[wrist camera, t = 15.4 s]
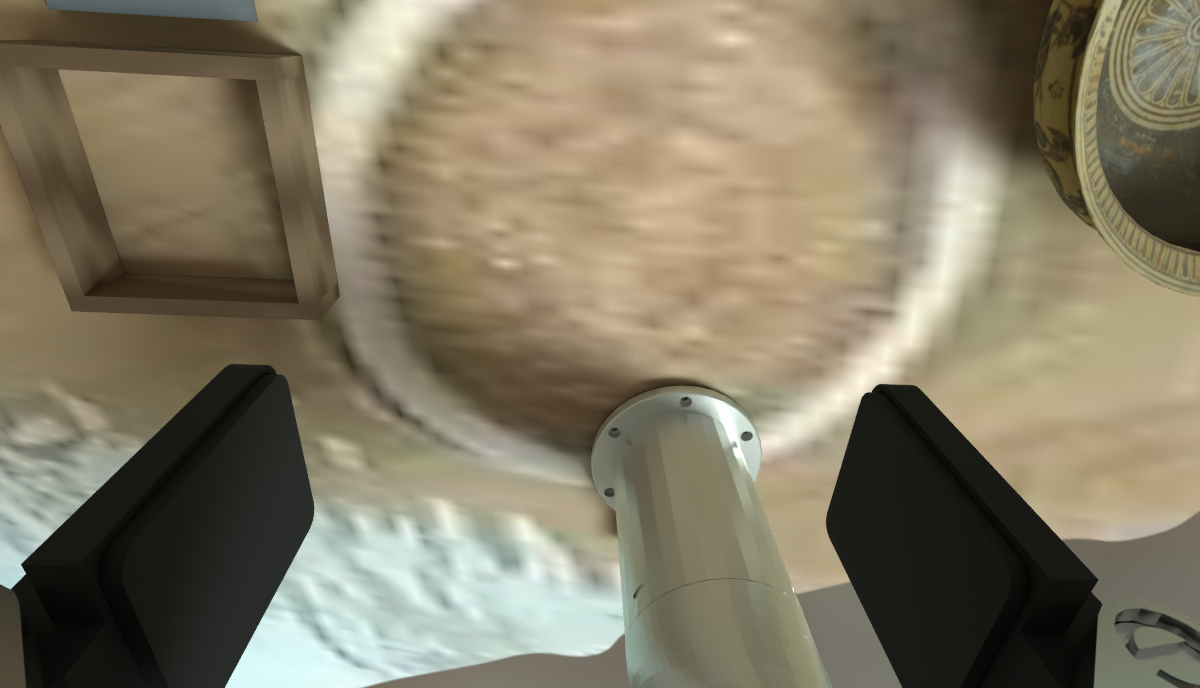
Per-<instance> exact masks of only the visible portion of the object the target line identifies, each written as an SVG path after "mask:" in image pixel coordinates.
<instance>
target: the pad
mask: <svg viewBox="0 0 1200 688" xmlns="http://www.w3.org/2000/svg"><path fill="white" fill-rule="evenodd" d="M46 3H47V6H48V9H51V10H68V11H85V12H102V13H119V14H136V15H153V16H170V17H186V18H203V19H220V20H237V21H257V15H256V10H255V4H254V0H46Z"/></svg>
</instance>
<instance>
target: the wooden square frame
mask: <svg viewBox="0 0 1200 688" xmlns="http://www.w3.org/2000/svg"><path fill="white" fill-rule="evenodd" d="M57 69H65V70H83V71H101V72H120V73H138V74H157V75H175V76H193V77H212V78H230V79H248V80H256V84H257V90H258V95H259V100H260V105H261V110H262V116H263V121H264V126H265V131H266V136H267V142H268V147H269V152H270V157H271V162H272V168H273V173H274V178H275V183H276V188H277V194H278V199H279V204H280V209H281V214H282V220H283V225H284V230H285V235H286V240H287V246H288V251H289V256H290V261H291V266H292V272H293V277H294V280H274V279H248V278H222V277H195V276H169V275H143V274H124V271H123V268H122V265H121V262H120V259H119V255H118V252H117V249H116V246H115V243H114V240H113V237H112V234H111V231H110V228H109V225H108V222H107V219H106V216H105V213H104V210H103V207H102V204H101V201H100V198H99V195H98V192H97V189H96V186H95V183H94V179H93V176H92V173H91V170H90V167H89V164H88V161H87V158H86V155H85V152H84V149H83V146H82V143H81V140H80V137H79V134H78V131H77V128H76V125H75V122H74V119H73V116H72V113H71V110H70V106H69V103H68V100H67V97H66V94H65V91H64V88H63V85H62V82H61V79H60V76H59V73H58V70H57ZM0 125H1V128H2V130H3V133H4V136H5V138H6V141H7V143H8V146H9V149H10V151H11V154H12V156H13V159H14V162H15V164H16V167H17V169H18V172H19V175H20V177H21V180H22V183H23V185H24V188H25V190H26V193H27V196H28V198H29V201H30V203H31V206H32V209H33V211H34V214H35V216H36V219H37V222H38V224H39V227H40V229H41V232H42V235H43V237H44V240H45V243H46V245H47V248H48V250H49V253H50V256H51V258H52V261H53V263H54V266H55V269H56V271H57V274H58V276H59V279H60V282H61V284H62V287H63V289H64V292H65V295H66V297H67V300H68V303H69V305H70V308H71V310H72V311H79V312H108V313H137V314H165V315H194V316H223V317H251V318H280V319H309V320H319V319H320V318H321V317H322V316H323V315H324V314H325V312H326V311H327V310H328V309H329V308H330V307H331V306H332V305H333V303H334V302H335V301H336V300H337V299H338V298H339V297H340V295H339V289H338V283H337V276H336V270H335V263H334V257H333V251H332V244H331V238H330V232H329V225H328V219H327V213H326V206H325V200H324V193H323V187H322V181H321V174H320V168H319V162H318V155H317V149H316V143H315V136H314V130H313V123H312V117H311V111H310V104H309V98H308V92H307V85H306V79H305V73H304V66H303V60H302V55H286V54H268V53H250V52H233V51H215V50H197V49H180V48H162V47H144V46H127V45H109V44H91V43H74V42H56V41H38V40H6V41H0Z"/></svg>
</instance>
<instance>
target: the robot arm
mask: <svg viewBox="0 0 1200 688" xmlns="http://www.w3.org/2000/svg"><path fill="white" fill-rule="evenodd" d="M683 397H684V398H683ZM761 460H762V449H761V441H760V438H759V436H758V433H757V430H756V428H755V426H754V424H753V422H752V420H751V419H750V417H749V415H748V414H747V413H746V412H745V411H744V410H743V409H742V408H741V407H740V405H738V404H737V403H735V402H734V401H733V400H731V399H730V398H728V397H727V396H724V395H722V394H720V393H718V392H716V391H713V390H709V389H705V388H701V387H696V386H682V385H680V386H669V387H662V388H658V389H654V390H650V391H647V392H644V393H642V394H640V395H638V396H635V397H633V398H631V399H630V400H628V401H627V402H625V403H624V404H622V405H621V406H619V407H618V408H617V409H616V410H615V411H614V412H613V413H611V414H610V415H609V416H608V417H607V419H606V420H605V421H604V423H603V424H602V426H601V427H600V428H599V430H598V432H597V435H596V437H595V439H594V442H593V447H592V452H591V470H592V476H593V481H594V483H595V486H596V488H597V490H598V492H599V494H600V495H601V497H602V498H603V499H604V501H605V502H606V503H607V504H608V505H609V506H610V507H611V508H612V509H614V510H615V511H616V521H617V534H618V548H619V561H620V574H621V588H622V601H623V615H624V628H625V641H626V658H627V670H628V676H629V682H630V686H631V688H832V686H831V683H830V681H829V678H828V676H827V673H826V671H825V669H824V666H823V664H822V661H821V659H820V656H819V654H818V651H817V649H816V646H815V643H814V641H813V638H812V635H811V633H810V630H809V628H808V625H807V622H806V620H805V617H804V614H803V612H802V609H801V606H800V604H799V601H798V599H797V596H796V593H795V591H794V588H793V585H792V583H791V580H790V577H789V575H788V572H787V570H786V567H785V564H784V562H783V559H782V556H781V554H780V551H779V549H778V546H777V543H776V541H775V538H774V535H773V533H772V530H771V528H770V525H769V522H768V520H767V517H766V514H765V512H764V509H763V506H762V504H761V501H760V499H759V496H758V493H757V491H756V488H755V485H754V482H755V480H756V479H757V476H758V473H759V470H760V467H761ZM313 517H314V502H313V497H312V493H311V488H310V483H309V479H308V474H307V469H306V465H305V460H304V455H303V451H302V446H301V441H300V437H299V432H298V428H297V423H296V418H295V414H294V409H293V404H292V400H291V395H290V390H289V386H288V382H287V379H286V378H285V376H283V375H277V374H276V371H275V370H274V369H273V367H271V366H269V365H245V364H230V365H228V366H227V367H225V368H224V369H223V370H222V371H221V372H220V373H219V374H218V375H217V376H216V377H215V378H214V379H212V380H211V381H210V382H209V383H208V384H207V385H206V386H205V387H204V388H203V389H202V390H201V391H200V392H199V393H198V394H197V395H196V396H195V397H194V398H193V399H192V400H191V401H190V402H189V403H188V404H187V405H186V406H185V407H183V408H182V409H181V410H180V411H179V412H178V413H177V414H176V415H175V416H174V417H173V418H172V419H171V420H170V421H169V422H168V423H167V424H166V425H165V426H164V427H163V428H162V429H161V430H160V431H159V432H158V433H157V434H155V435H154V436H153V437H152V438H151V439H150V440H149V441H148V442H147V443H146V444H145V445H144V446H143V447H142V448H141V449H140V450H139V451H138V452H137V453H136V454H135V455H134V456H133V457H132V458H131V459H130V460H129V461H128V462H126V463H125V464H124V465H123V466H122V467H121V468H120V469H119V470H118V471H117V472H116V473H115V474H114V475H113V476H112V477H111V478H110V479H109V480H108V481H107V482H106V483H105V484H104V485H103V486H102V487H101V488H100V489H99V490H97V491H96V492H95V493H94V494H93V495H92V496H91V497H90V498H89V499H88V500H87V501H86V502H85V503H84V504H83V505H82V506H81V507H80V508H79V509H78V510H77V511H76V512H75V513H74V514H73V515H72V516H71V517H70V518H68V519H67V520H66V521H65V522H64V523H63V524H62V525H61V526H60V527H59V528H58V529H57V530H56V531H55V532H54V533H53V534H52V535H51V536H50V537H49V538H48V539H47V540H46V541H45V542H44V543H43V544H42V545H40V546H39V547H38V548H37V549H36V550H35V551H34V552H33V553H32V554H31V555H30V556H29V557H28V558H27V559H26V560H25V561H24V562H23V563H22V564H21V565H22V567H23V569H24V571H25V573H26V575H25V576H24V577H23V578H22V579H21V580H20V581H19V582H18V583H17V584H16V585H15V586H14V587H13V588H12V589H11V590H10V589H8V588H6V587H4V586H3V585H0V688H225V686H226V684H227V682H228V681H229V679H230V677H231V675H232V673H233V671H234V669H235V667H236V666H237V664H238V662H239V660H240V658H241V656H242V654H243V653H244V651H245V649H246V647H247V645H248V643H249V641H250V639H251V638H252V636H253V634H254V632H255V630H256V628H257V626H258V625H259V623H260V621H261V619H262V617H263V615H264V613H265V611H266V610H267V608H268V606H269V604H270V602H271V600H272V598H273V597H274V595H275V593H276V591H277V589H278V587H279V585H280V583H281V582H282V580H283V578H284V576H285V574H286V572H287V570H288V569H289V567H290V565H291V563H292V561H293V559H294V557H295V555H296V554H297V552H298V550H299V548H300V546H301V544H302V542H303V541H304V539H305V537H306V535H307V533H308V531H309V529H310V527H311V525H312V521H313ZM826 527H827V532H828V535H829V538H830V540H831V542H832V544H833V546H834V548H835V550H836V552H837V554H838V556H839V558H840V561H841V563H842V565H843V567H844V569H845V571H846V573H847V575H848V577H849V579H850V581H851V583H852V585H853V587H854V589H855V591H856V593H857V595H858V597H859V600H860V602H861V604H862V605H863V607H864V610H865V612H866V614H867V616H868V618H869V620H870V622H871V624H872V626H873V628H874V630H875V632H876V634H877V636H878V638H879V640H880V642H881V644H882V647H883V648H884V651H885V653H886V655H887V657H888V659H889V661H890V663H891V665H892V667H893V669H894V671H895V673H896V675H897V677H898V679H899V682H900V684H901V686H902V688H1200V624H1199V623H1198V622H1196V621H1194V620H1192V619H1190V618H1188V617H1186V616H1185V615H1183V614H1181V613H1178V612H1177V611H1175V610H1172V609H1170V608H1167V607H1164V606H1161V605H1159V604H1156V603H1153V602H1150V601H1145V600H1139V599H1134V598H1118V599H1112V600H1110V601H1108V602H1106V603H1104V604H1101V602H1100V601H1099V600H1098V599H1097V598H1096V597H1095V596H1094V595H1093V593H1092V592H1091V591H1092V589H1093V588H1094V586H1095V584H1096V583H1097V581H1098V579H1097V578H1096V577H1095V575H1094V574H1093V573H1092V572H1091V571H1090V570H1089V569H1088V568H1087V567H1086V566H1085V565H1084V564H1083V563H1082V562H1081V561H1080V559H1079V558H1077V556H1076V555H1075V554H1074V553H1073V552H1072V551H1071V550H1070V549H1069V548H1068V547H1067V546H1066V545H1065V543H1064V542H1063V541H1062V540H1061V539H1060V538H1059V537H1058V536H1057V535H1056V534H1055V533H1054V532H1053V531H1052V530H1051V528H1050V527H1049V526H1048V525H1047V524H1046V523H1045V522H1044V521H1043V520H1042V519H1041V518H1040V517H1039V516H1038V515H1037V514H1036V512H1035V511H1034V510H1033V509H1032V508H1031V507H1030V506H1029V505H1028V504H1027V503H1026V502H1025V501H1024V500H1023V499H1022V497H1021V496H1020V495H1019V494H1018V493H1017V492H1016V491H1015V490H1014V489H1013V488H1012V487H1011V486H1010V485H1009V484H1008V483H1007V481H1006V480H1005V479H1004V478H1003V477H1002V476H1001V475H1000V474H999V473H998V472H997V471H996V470H995V469H994V468H993V466H992V465H991V464H990V463H989V462H988V461H987V460H986V459H985V458H984V457H983V456H982V455H981V454H980V453H979V452H978V450H977V449H976V448H975V447H974V446H973V445H972V444H971V443H970V442H969V441H968V440H967V439H966V438H965V437H964V436H963V434H962V433H961V432H960V431H959V430H958V429H957V428H956V427H955V426H954V425H953V424H952V423H951V422H950V421H949V419H948V418H947V417H946V416H945V415H944V414H943V413H942V412H941V411H940V410H939V409H938V408H937V407H936V406H935V405H934V403H933V402H932V401H931V400H930V399H929V398H928V397H927V396H926V395H925V394H924V393H923V392H922V391H921V390H920V389H919V388H918V387H917V386H914V385H890V384H879V385H877V386H876V387H875V388H874V389H873V390H872V393H870V392H868V393H866V394H864V396H863V397H862V399H861V402H860V405H859V409H858V412H857V415H856V419H855V422H854V425H853V429H852V432H851V435H850V439H849V442H848V445H847V449H846V452H845V455H844V459H843V462H842V465H841V469H840V472H839V475H838V479H837V482H836V485H835V489H834V492H833V495H832V499H831V502H830V505H829V509H828V512H827V517H826Z"/></svg>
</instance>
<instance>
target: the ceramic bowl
mask: <svg viewBox="0 0 1200 688" xmlns="http://www.w3.org/2000/svg"><path fill="white" fill-rule="evenodd" d="M1033 105H1034V124H1035V130H1036V136H1037V141H1038V147H1039V152H1040V155H1041V158H1042V160H1043V163H1044V166H1045V169H1046V171H1047V174H1048V176H1049V178H1050V180H1051V181H1052V183H1053V185H1054V187H1055V189H1056V190H1057V192H1058V194H1059V196H1060V197H1061V198H1062V200H1063V201H1064V202H1065V204H1066V205H1067V206H1068V207H1069V208H1070V209H1071V210H1072V211H1073V212H1074V213H1075V214H1076V215H1077V216H1078V217H1079V218H1080V219H1081V220H1082V221H1083V222H1085V223H1086V224H1087V225H1089V226H1090V227H1092V228H1093V229H1095V230H1096V231H1098V233H1099V234H1100V236H1101V237H1102V238H1103V239H1104V241H1105V242H1106V243H1107V244H1108V245H1109V247H1110V248H1111V249H1112V250H1113V251H1114V252H1115V253H1116V254H1117V255H1118V256H1119V257H1120V258H1121V259H1122V260H1123V261H1124V262H1125V263H1126V264H1127V265H1128V266H1129V267H1130V268H1131V269H1133V270H1134V271H1136V272H1138V273H1139V274H1141V275H1143V276H1144V277H1146V278H1147V279H1149V280H1151V281H1152V282H1154V283H1156V284H1158V285H1161V286H1163V287H1166V288H1168V289H1171V290H1174V291H1177V292H1179V293H1182V294H1187V295H1192V296H1199V297H1200V0H1054V1H1053V3H1052V6H1051V8H1050V11H1049V14H1048V16H1047V20H1046V24H1045V27H1044V31H1043V35H1042V39H1041V43H1040V48H1039V53H1038V58H1037V64H1036V69H1035V81H1034V93H1033Z"/></svg>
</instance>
